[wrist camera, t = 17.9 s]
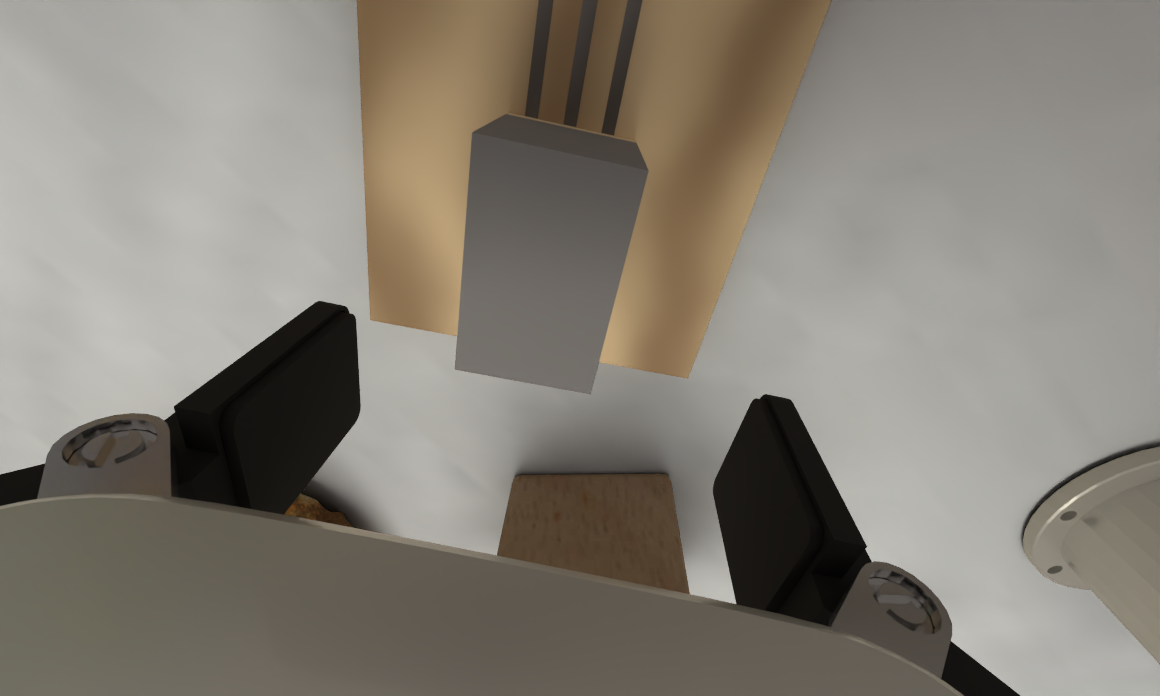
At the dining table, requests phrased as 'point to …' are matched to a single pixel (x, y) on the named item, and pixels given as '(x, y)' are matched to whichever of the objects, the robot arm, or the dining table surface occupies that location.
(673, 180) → the board
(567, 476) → the wooden block
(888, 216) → the dining table surface
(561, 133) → the block
